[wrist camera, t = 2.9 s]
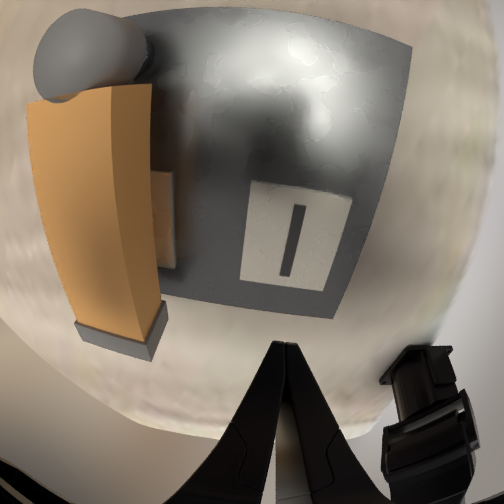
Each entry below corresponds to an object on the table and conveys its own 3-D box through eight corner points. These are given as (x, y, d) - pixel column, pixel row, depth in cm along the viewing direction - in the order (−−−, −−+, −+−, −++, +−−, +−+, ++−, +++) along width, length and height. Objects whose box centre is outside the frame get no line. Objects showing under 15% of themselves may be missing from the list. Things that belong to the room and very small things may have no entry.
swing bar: (76, 32, 7) (26, 30, 4) (166, 12, 7) (125, -9, 4) (104, 303, 16) (82, 340, 14) (168, 318, 16) (151, 362, 13)
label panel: (330, 303, 19) (335, 338, 16) (106, 267, 19) (86, 294, 16) (400, 49, 9) (429, 43, 7) (91, 32, 9) (57, 28, 7)
